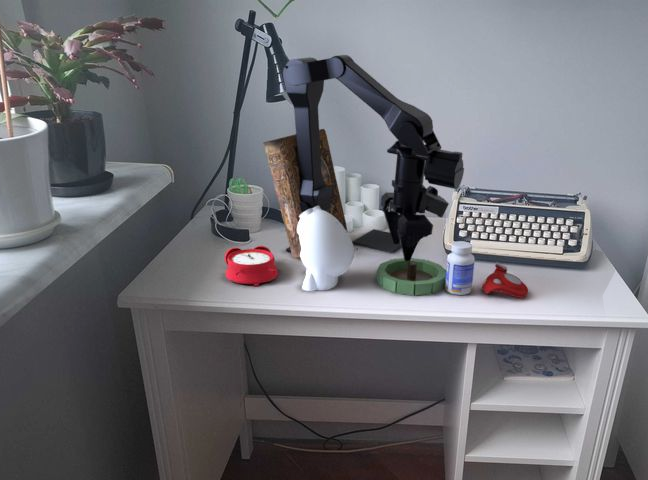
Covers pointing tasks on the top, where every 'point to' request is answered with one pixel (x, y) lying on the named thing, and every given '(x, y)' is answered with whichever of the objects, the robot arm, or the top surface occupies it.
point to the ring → (411, 286)
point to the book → (298, 183)
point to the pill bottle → (460, 268)
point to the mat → (377, 241)
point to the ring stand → (411, 273)
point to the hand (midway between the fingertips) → (401, 252)
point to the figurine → (323, 249)
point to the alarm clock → (250, 265)
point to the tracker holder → (504, 283)
